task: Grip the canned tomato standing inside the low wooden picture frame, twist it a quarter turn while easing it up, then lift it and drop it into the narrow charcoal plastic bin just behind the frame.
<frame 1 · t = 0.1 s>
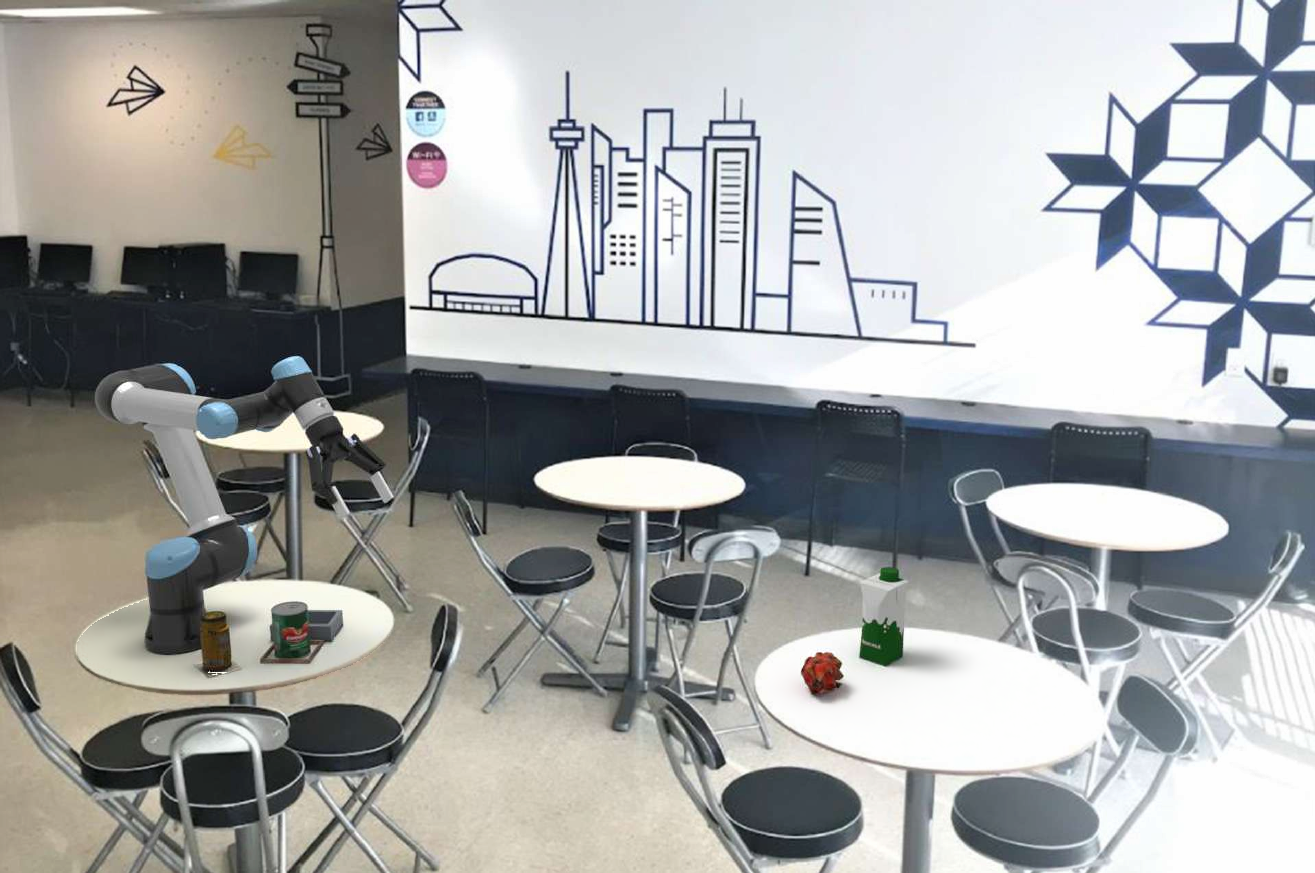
hand: (367, 507, 262), 36 cm above the table, tool tilted 35°, fingers open, 13 cm apart
canned tomato: (292, 654, 276), resting in wooden picture frame
dragon fruit: (821, 690, 257), on the table
bin: (307, 633, 287), on the table
milk carton: (880, 658, 273), on the table
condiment: (218, 668, 269), on the table
wooden picture frame: (292, 653, 276), on the table
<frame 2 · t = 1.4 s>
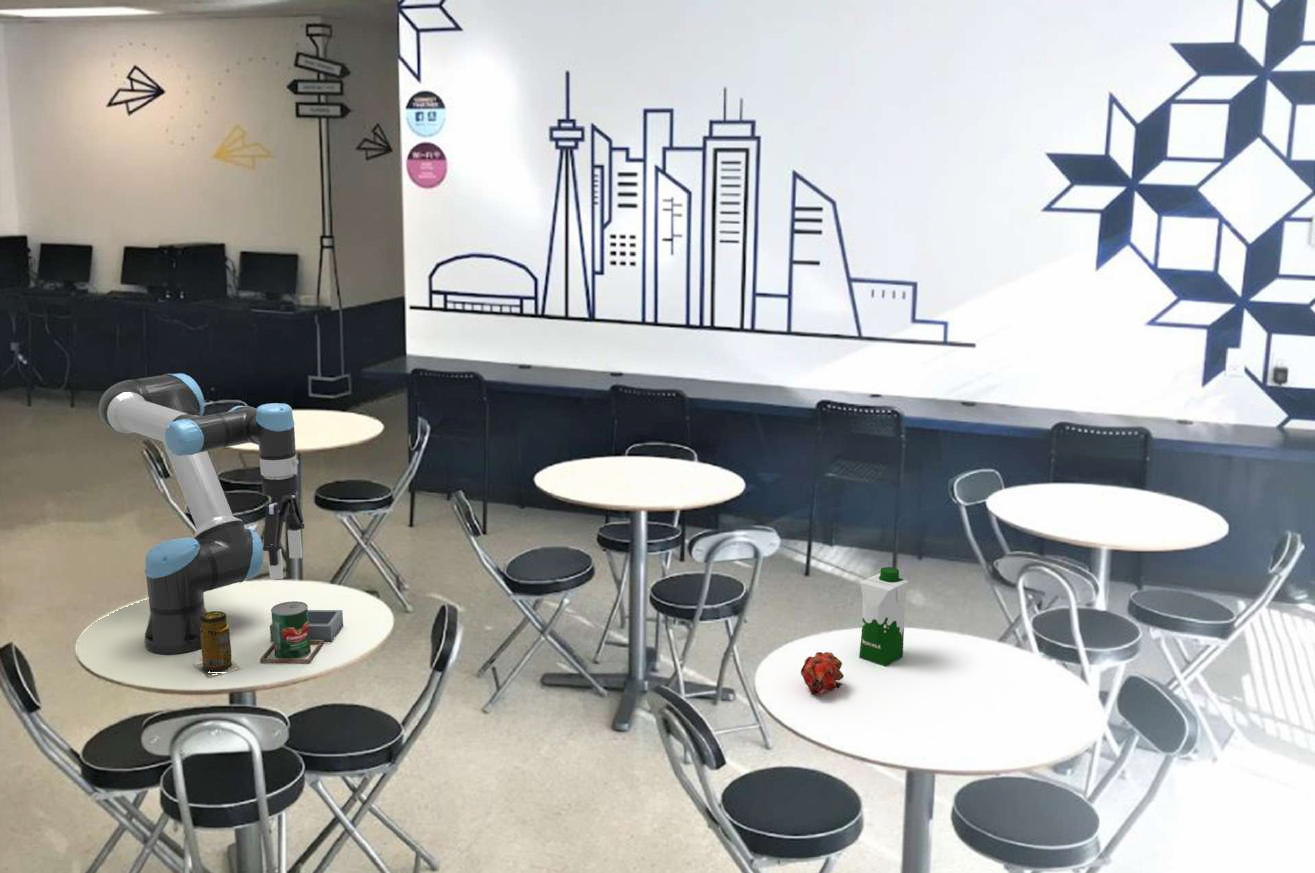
hand: (286, 567, 271), 20 cm above the table, tool pointing down, fingers open, 13 cm apart
nothing on the table moved.
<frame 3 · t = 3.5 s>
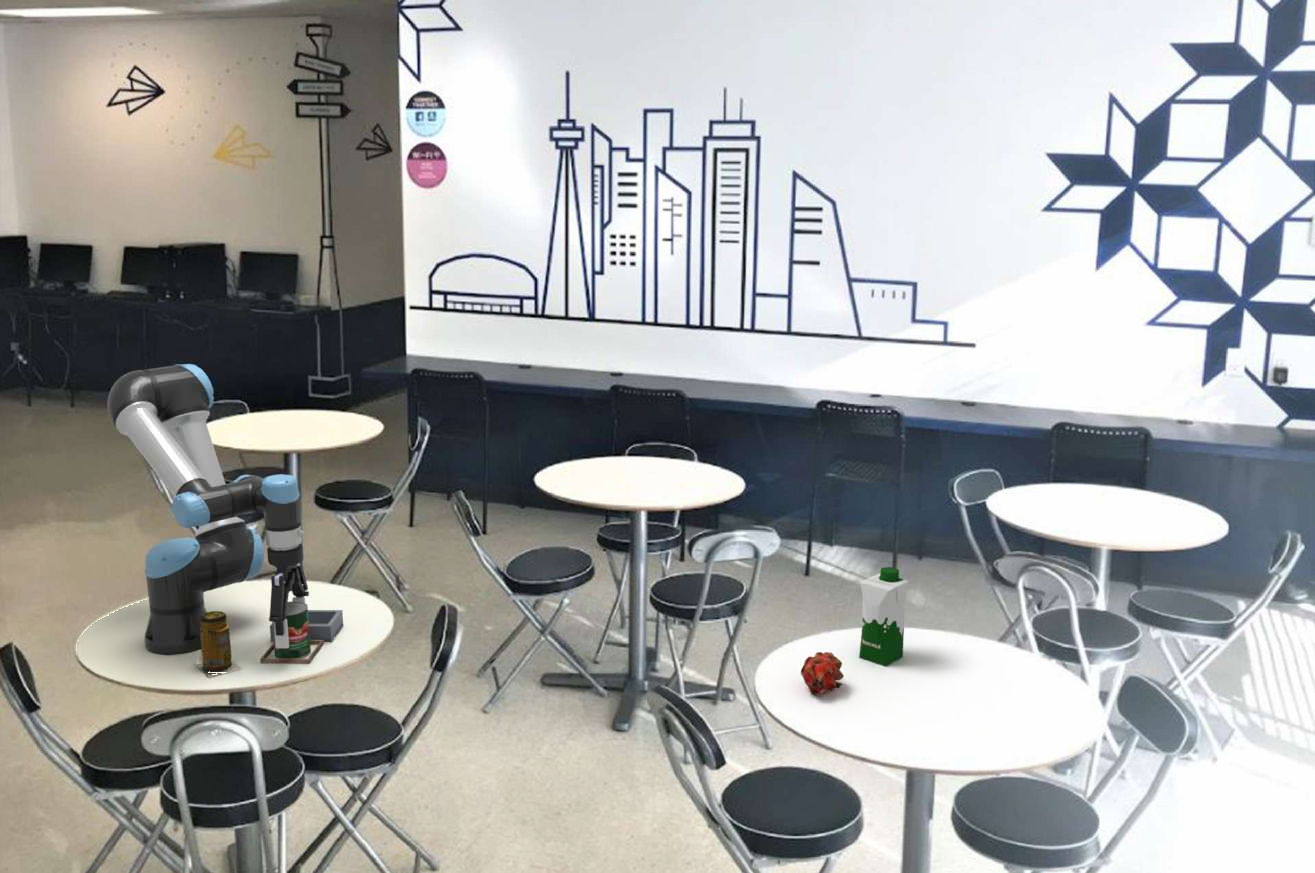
hand: (291, 635, 275), 4 cm above the table, tool pointing down, fingers open, 12 cm apart
nothing on the table moved.
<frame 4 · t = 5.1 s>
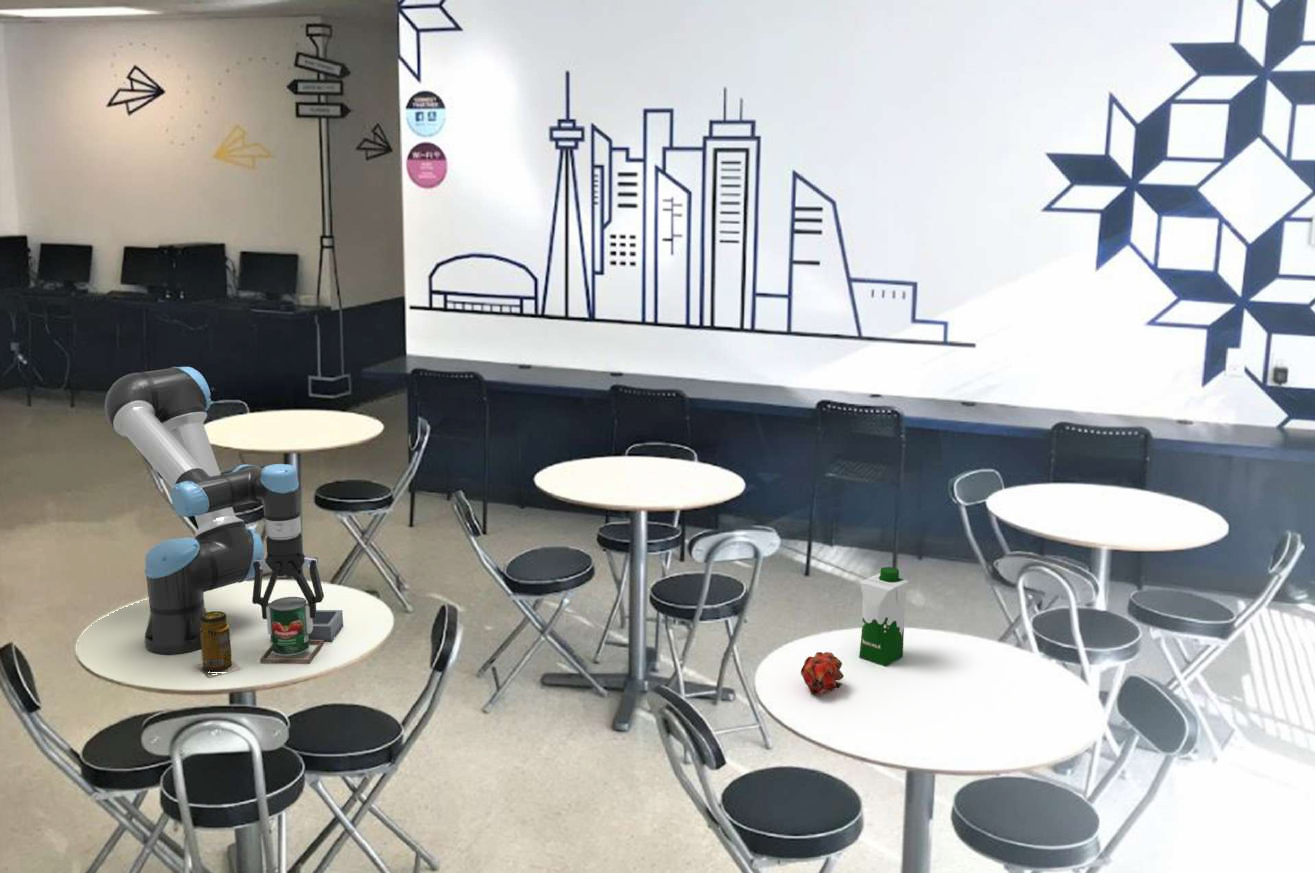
hand: (290, 631, 275), 5 cm above the table, tool pointing down, fingers closed on canned tomato, 8 cm apart
canned tomato: (291, 649, 275), point 1 cm above the table, touching gripper
everything else where it was.
when the fingers open (7 cm above the table, at t = 10.8 s): canned tomato stays where it is, resting on bin.
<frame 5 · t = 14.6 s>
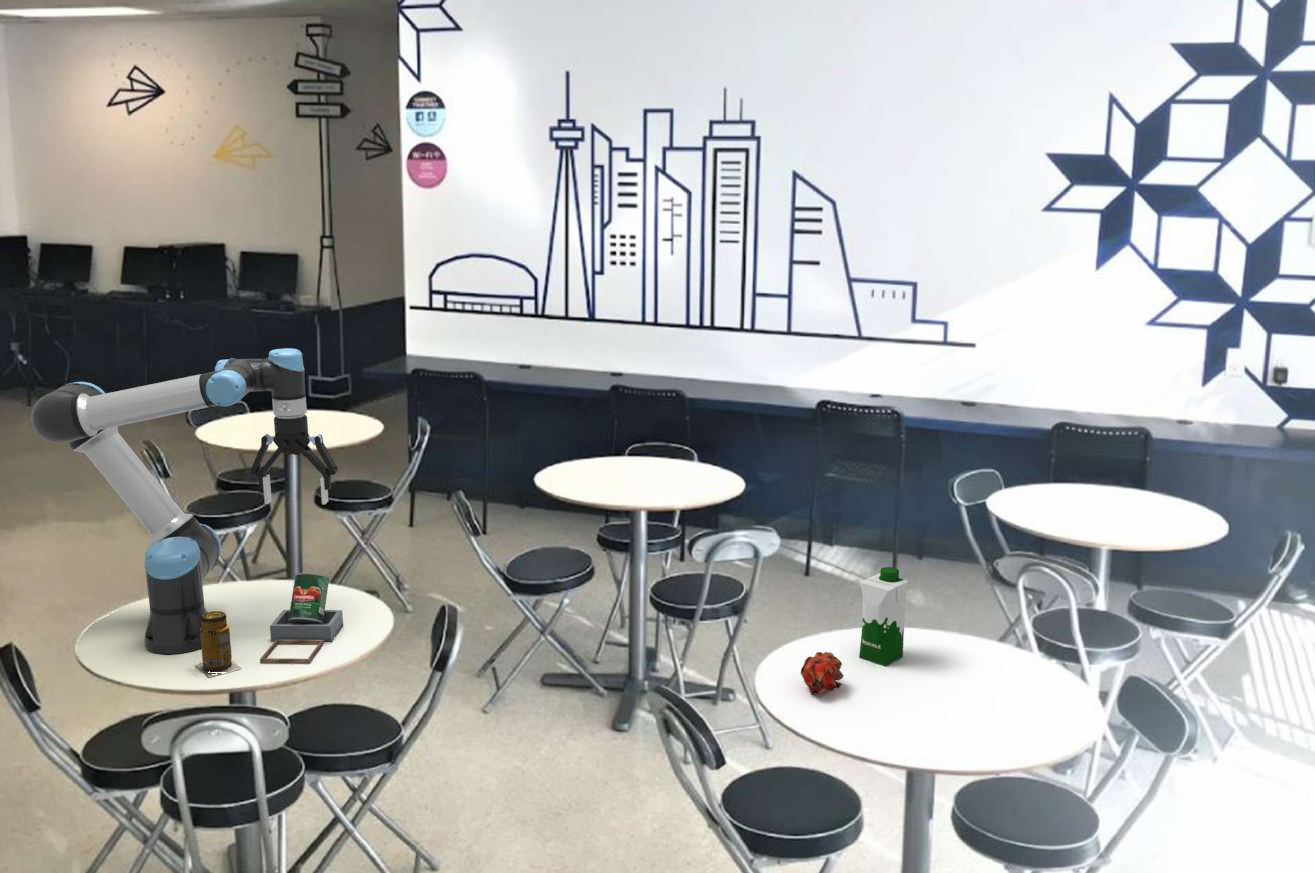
hand: (296, 502, 291), 29 cm above the table, tool pointing down, fingers open, 13 cm apart
canned tomato: (305, 623, 285), point 3 cm above the table, touching bin
everything else where it was.
at the end: canned tomato inside the target area on the bin (1.3 cm from its centre), point 3.1 cm above the bin's base; the gripper is holding nothing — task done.
